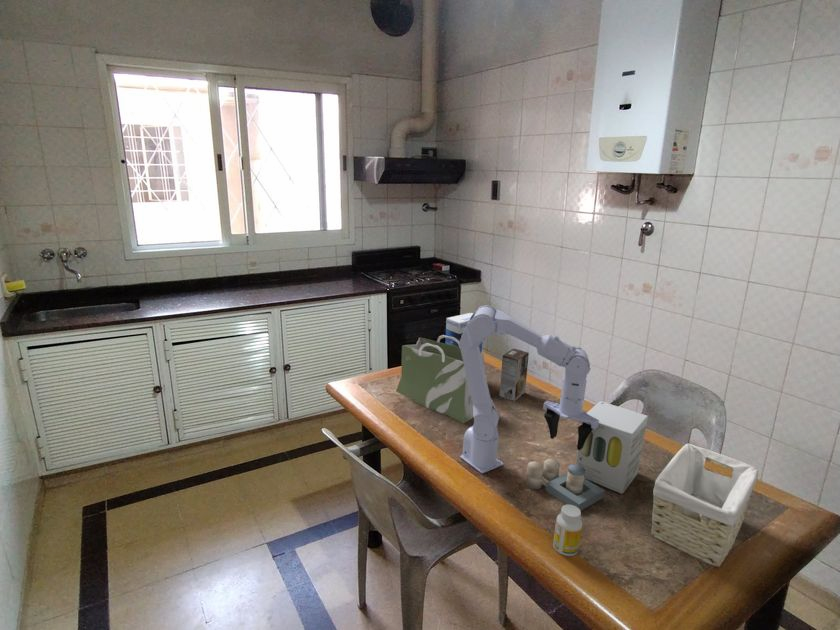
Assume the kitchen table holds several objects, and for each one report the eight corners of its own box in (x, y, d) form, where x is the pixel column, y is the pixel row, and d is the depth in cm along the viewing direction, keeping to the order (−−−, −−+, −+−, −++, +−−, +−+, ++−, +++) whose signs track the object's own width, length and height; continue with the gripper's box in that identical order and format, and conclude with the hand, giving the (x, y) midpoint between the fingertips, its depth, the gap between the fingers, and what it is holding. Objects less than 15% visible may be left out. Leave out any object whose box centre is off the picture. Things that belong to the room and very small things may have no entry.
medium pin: (522, 482, 129) (524, 464, 128) (533, 477, 132) (535, 459, 130) (534, 490, 126) (536, 472, 125) (544, 485, 128) (547, 467, 127)
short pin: (539, 475, 133) (541, 462, 132) (549, 470, 135) (551, 457, 134) (551, 482, 130) (552, 469, 129) (561, 477, 132) (562, 464, 131)
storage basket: (721, 576, 101) (736, 515, 97) (640, 536, 112) (651, 479, 108) (748, 521, 118) (762, 467, 114) (676, 490, 128) (686, 440, 124)
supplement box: (572, 474, 134) (580, 416, 129) (591, 454, 144) (599, 399, 139) (622, 495, 126) (633, 433, 121) (638, 472, 135) (649, 415, 131)
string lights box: (467, 374, 198) (471, 312, 190) (480, 380, 192) (485, 316, 185) (442, 381, 189) (445, 317, 182) (456, 388, 184) (460, 322, 177)
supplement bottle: (548, 547, 107) (553, 510, 104) (560, 535, 111) (565, 498, 108) (571, 561, 104) (577, 522, 101) (582, 547, 107) (588, 510, 105)
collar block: (545, 490, 126) (546, 483, 126) (570, 477, 132) (571, 470, 131) (577, 512, 119) (578, 504, 118) (603, 497, 124) (604, 490, 124)
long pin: (561, 492, 126) (565, 466, 124) (572, 488, 128) (576, 462, 126) (573, 501, 123) (577, 475, 120) (584, 496, 125) (588, 470, 122)
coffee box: (509, 388, 186) (513, 348, 181) (525, 393, 182) (529, 352, 178) (498, 396, 179) (502, 354, 174) (514, 401, 175) (518, 359, 171)
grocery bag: (393, 392, 179) (394, 331, 172) (419, 382, 189) (421, 324, 182) (462, 424, 158) (467, 356, 152) (488, 410, 168) (493, 346, 162)
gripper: (539, 391, 128) (534, 437, 132) (592, 410, 119) (585, 459, 123) (552, 383, 133) (547, 428, 137) (605, 401, 124) (597, 449, 128)
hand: (566, 442), depth 130 cm, fingers open, 7 cm apart
